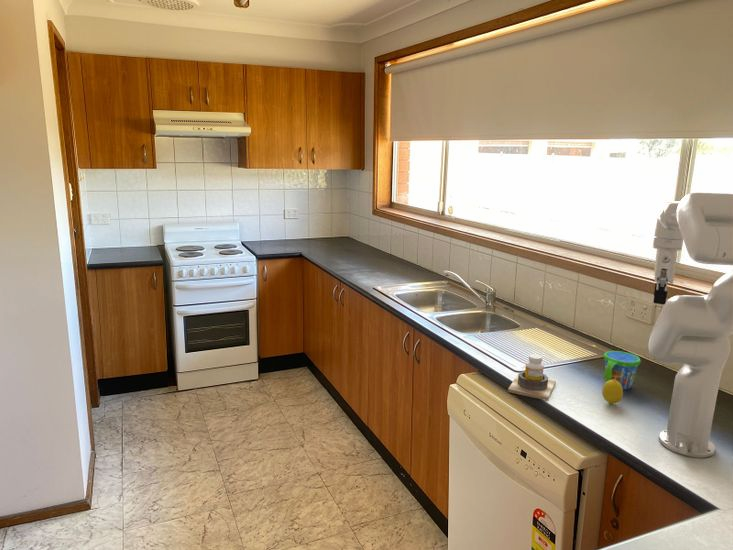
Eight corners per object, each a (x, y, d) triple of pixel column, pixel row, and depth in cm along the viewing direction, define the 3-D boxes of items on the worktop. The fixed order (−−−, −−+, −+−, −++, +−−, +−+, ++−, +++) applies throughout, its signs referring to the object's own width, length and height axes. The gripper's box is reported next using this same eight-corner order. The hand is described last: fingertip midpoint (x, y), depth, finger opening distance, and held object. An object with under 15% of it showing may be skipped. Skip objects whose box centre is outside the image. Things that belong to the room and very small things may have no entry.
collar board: (547, 400, 167) (549, 388, 166) (507, 391, 172) (508, 379, 171) (555, 384, 179) (556, 372, 178) (517, 376, 184) (519, 365, 184)
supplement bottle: (526, 380, 179) (529, 351, 177) (543, 384, 176) (546, 355, 174) (521, 386, 174) (524, 357, 172) (539, 390, 172) (542, 360, 169)
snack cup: (618, 375, 187) (622, 347, 185) (648, 387, 178) (652, 357, 176) (588, 384, 179) (592, 355, 177) (617, 397, 171) (621, 366, 168)
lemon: (624, 404, 165) (627, 379, 164) (616, 410, 162) (620, 384, 160) (605, 398, 169) (608, 374, 167) (597, 404, 165) (600, 379, 164)
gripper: (683, 249, 154) (674, 308, 158) (681, 241, 169) (673, 295, 173) (652, 246, 157) (644, 304, 161) (653, 238, 172) (646, 292, 176)
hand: (659, 300), depth 167 cm, fingers open, 9 cm apart
